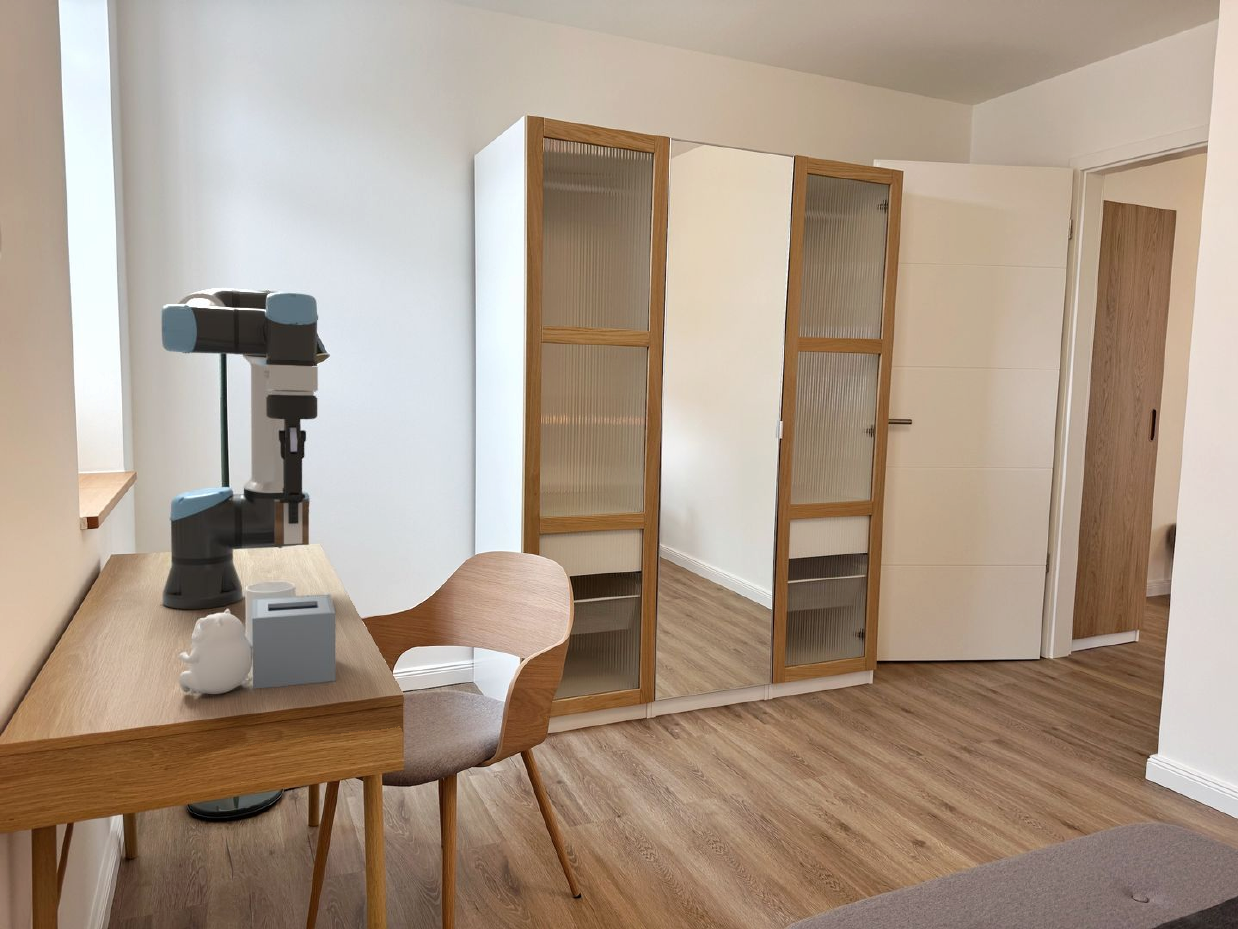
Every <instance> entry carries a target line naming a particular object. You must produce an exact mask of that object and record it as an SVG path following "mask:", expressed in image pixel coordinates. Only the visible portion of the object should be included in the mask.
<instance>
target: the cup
mask: <svg viewBox="0 0 1238 929" xmlns="http://www.w3.org/2000/svg"><path fill="white" fill-rule="evenodd" d="M282 597H297V596H296V584H295V583H293V582H290V581H280V580H278V581H275V580H272V581H270V580H269V581H262V582H261V581H260V582H256V583H250V584H249V585H247V586H245V636H246V638H247V640H248V641H249V643H250V645H251V648H253V627H252V616H253V599H265V598H282Z"/></svg>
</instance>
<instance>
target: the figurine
mask: <svg viewBox="0 0 1238 929" xmlns="http://www.w3.org/2000/svg"><path fill="white" fill-rule="evenodd" d="M191 641H192V643H191V644H190V646H189V648H190V649H191V652H190V655H189V654H188V652H186V651H183V652H181V653H180V654H179V655H178V656H177V660H182V661H183V662H185V663H187V664H188V666H189V667H188V668H189V669H188V670H185V671H182V672H181V674H180V675H179V678H178V680H179V685H180V688H181V689H182V691H183V692H184V693H189V692H190V691H192V692H194V693H197V694H203V693H204V694H208V695H220V694H224V693H227V692H230V691H232V690H234V689H235V688H237V687H239V686H245V685H248V684H250V683H251V682H253V676H250V675H249V673H250V671H251V668H252V666H253V647H251V645H250V643H249V641H248V640H247V638H246V632H245V628H244V625H243V623H242V621H241V620H240V618H238V617H236V616H235V615H234V614H231V609H230V608H226V610H224V612H216V613H214V614H208V615H207V616H205V617H201V618H199V619H198V620H197V621H196V622H195V625H194V629H193V631H192V634H191Z"/></svg>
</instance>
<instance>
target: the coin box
mask: <svg viewBox="0 0 1238 929" xmlns="http://www.w3.org/2000/svg"><path fill="white" fill-rule="evenodd" d="M252 627H253V647H252V690H256V689H265V688H266V689H267V688H268V689H269V688H278V687H287V686H294V685H295V686H296V685H305V684H306V685H307V684H318V683H328V682H336V610H335V607H334V604H333V600H332V598H331V595H330V594H319V595H318V594H317V595H301V596H299V595H298V596H296V597H282V598H265V599H253V616H252Z"/></svg>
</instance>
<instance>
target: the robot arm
mask: <svg viewBox="0 0 1238 929" xmlns="http://www.w3.org/2000/svg"><path fill="white" fill-rule="evenodd" d="M318 320H319V314H318V308H317V300H316V298H315V297H314V296H313V295H310V294H305V293H298V292H296V293H295V292H286V291H281V290H277V291H274V290H273V291H272V290H259V289H258V290H256V289H244V288H243V289H241V288H240V289H239V288H227V287H225V288H224V287H220V288H211V289H204V290H200V291H196V292H193V293H190V294H188V295H186V296H185V297H183V298H182V299H181V300H180V301H179V302H178V304H166V305H163V307H162V308H161V341H162V342H161V343H162V347H163V349H165V351H168V352H174V353H175V352H176V353H182V354H220V355H221V354H224V355H225V354H226V355H227V354H228V355H242V357H243V359H245V360H247V362H248V363H249V364H250V408H251V409H250V415H251V416H250V420H251V421H250V425H251V427H250V428H251V429H250V430H251V432H250V433H251V435H250V436H251V440H250V441H251V442H250V443H251V444H250V445H251V446H250V448H251V453H250V454H251V464H250V465H251V477H250V479H249V480H248V481H247V482H245V483H244V485H243V493H235V494H234V491H233V489H232V487H229V486H223V487H218V486H217V487H208V488H201V489H200V488H199V489H195V490H190V491H186V492H182V493H179V494H177V495H176V496H175V497H173V498H172V500H171V503H170V516H169V521H170V529H171V530H170V531H171V532H170V539H171V540H170V543H171V544H170V546H171V547H170V548H171V549H170V550H171V551H170V553H171V555H170V556H171V565H170V566H171V567H170V569H169V572H168V575H167V577H166V578H167V579H166V581H165V584H164V587H163V589H162V605H163V606H166V607H169V608H172V609H173V608H174V609H179V610H181V609H182V610H183V609H184V610H185V609H186V610H195V609H196V610H198V609H199V610H200V609H210V608H219V607H223V606H227V605H231V604H234V603H237V602H239V601H241V600H242V599H243V585H242V582H241V580H240V578H239V575H238V572H237V568H236V567H235V563H234V550H248V549H251V550H252V549H267V548H268V549H269V548H270V549H271V548H278V549H282V548H284V547H285V548H287V547H295V546H297V545H289V546H275V500H279V499H280V503H284V544H302V499H308V500H309V504H310V502H311V501H310V499H311V498H310V494H309V493H308V492H307V491H303V459H304V458H305V453H306V452H305V444H306V443H305V442H306V441H307V431H306V430H304V429H301V424H302V423H301V420H314V419H316V418H317V417H318V397H317V395H315V393H316V392H317V391H318V390H319V384H318V383H319V382H318V381H319V379H318V376H319V375H318V374H319V371H318V368H319V367H318V360H317V359H318V357H317V356H318V350H317V349H318Z"/></svg>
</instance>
